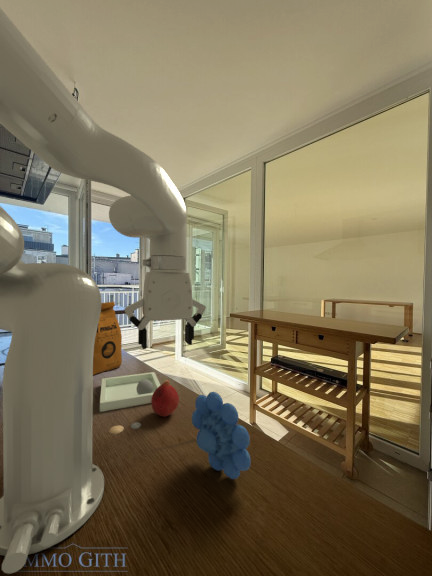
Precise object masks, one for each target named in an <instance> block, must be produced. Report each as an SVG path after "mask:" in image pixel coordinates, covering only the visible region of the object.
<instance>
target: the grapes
mask: <svg viewBox="0 0 432 576" xmlns="http://www.w3.org/2000/svg"><path fill="white" fill-rule="evenodd" d="M194 405H195V406H194V407H195V410H194V411H193V412H192V415H191V423H192V426H193V427H195V428H196V429H197V430H198V432H197V435H196V445H197V447H198V448H199V449H200V450H201V451H203V452H205V453H207V454H208V455H207V457H208V458H207V459H208V463H209V466H210V467H211V468H212V469H213V470H215V471H218V472H219V471H223V474H225V476H227V477H228V478H229V479H231V480H237V479H238V478H239V476H241V471H242V472H245V471H249V469H250V468H251V465H252V464H251V462H252V461H251V460H252V458H251V455H250V453H249V451H248V450H247V448H249V446H250V441H251V438H250V434H249V432H248V429H247V428H246V427H244V426H243V425H241V424H238V422H239V413H238V410H237V408H236V406H234V405H233V404H232V403H229V402H225V403H224V400H223V398H222V396H221V395H220V394H219V393H217V392H216V391H210V392H209V393H208V394H207V395H204V394H200V395H198V396H197V397H196V398H195V404H194Z"/></svg>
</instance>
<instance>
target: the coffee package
mask: <svg viewBox="0 0 432 576" xmlns="http://www.w3.org/2000/svg"><path fill="white" fill-rule="evenodd" d="M115 306H116V304H115V301H107V302H106V301H105V302H101V313H100V318H99V322H98V327H97V331H96V336H95V343H94V353H93V375H97V374H100V373H103V372H108V371H112V370H115V369H117V368H120V367H121V365H122V363H123V361H122V360H123V359H122V356H123V355H122V346H123V345H122V342H123V341H122V338H123V337H122V329H121V327H120V322H119V320H118V319H117V315H116V311H115V309H114V308H115Z"/></svg>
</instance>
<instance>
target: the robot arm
mask: <svg viewBox="0 0 432 576" xmlns="http://www.w3.org/2000/svg"><path fill="white" fill-rule="evenodd" d="M0 125H2V127H4V128H5V129H6V130H7V131H8V132H9V133H11V134H12V135H13V136H14V137H15V138H16V139H17V140H18V141H20V142H21V143H22V144H23V145H25V146H26V148H28V149H29V150H30V151H32V153H33V154H35V155H36V156H37V157H38V158H39V159H41V160H42V161H43V162H44V163H45V164H46V165H47V166H49V167H50V168H51V169H52V170H54V171H56V172H59V173H61V174H63V175H66V176H70V177H74V178H77V179H81V180H85V181H90V182H95V183H100V184H103V185H107V186H111V187H113V188H116V189H118V190H120V191H123V192H125V193H126V194H128V195H126V196H122V197H119V198H118V199H116V200H115V201H113V203H112V204H111V206H110V207H109V211H108V219H109V222H110V224H111V226H112V227H113V229H114V230H115V231H116V232H118V233H119V234H121V235H123V236H124V237H127V238H144V239H149V257H148V258H146V259H142V264H141V265H142V266H143V267H146V268H148V270H149V271H147V272H146V273H145V277H144V278H145V279H144V284H143V292H142V293H143V294H142V298H141V299H139V300H137V301H136V302H133V303H131V304H129V305H127V306H125V307H124V313H125V314H126V316H127V318H128V319H129V321H130V323H132V324H133V325H134V326H135V327H136V329H138V332H137V333H138V336H137V337H138V338H137V339H138V340H137V341H138V342H137V343H138V345H141V348H142V350H146V349H147V348H148V347H147V346H148V342H147V341H148V335H147V334H148V331H147V328H146V326H147V325H148V324H149V323H150V322H154V321H155V322H156V321H157V322H159V321H175V320H176V321H178V320H179V321H180V320H181V321H182V320H184V321H185V322H186V324H185V326H184V343H186V344H187V345H189V346H190V345H191V346H192V345H193V341H194V339H195V327H196V325H197V324H198V322H199V321H200V320H201V319H202V318H203V315H204V313H205V311H206V309H207V307H206V305H204V304H202V303H201V302H198V301H196V300H195V299H193V289H192V280H191V274H190V273H189V272H186V268H187V266H186V262H187V261H186V259H187V258H186V254H187V253H186V252H187V218H188V214H187V213H188V212H187V207H186V204H185V200H184V198H183V196H182V195H181V193H180V191H179V189H178V188H177V186H176V185H175V184H174V182H173V180H171V178H170V176H169V175H168V173H167V172H166V171H165V169H164V168H163V167H162V166H161V165H160V164H159V163H158V162H157V161H156V160H154V158H152V157H151V156H150V155H148V154H146V153H145V152H144V151H142V150H140V149H139V148H137V147H135V146H134V145H132V144H131V143H129V142H127V141H126V140H124V139H122V138H121V137H119V136H117V135H115V134H113V133H111V132H109V131H107V130H105V129H104V128H103V127H101V126H100V125H99V124H97V122H96V121H95V120H94V119H93V117H91V116H90V114H89V113H88V112H87V111H86V110H85V108H84V107H83V106H82V104H80V102H79V101H78V100H77V99H76V97H75V96H74V94H72V93H71V91H70V90H69V89H68V88H67V86H65V84H64V83H63V82H62V81H61V79H60V78H59V77H58V75H57V74H56V73H55V72H54V71H53V70H52V68H51V67H50V65H48V64H47V62H46V61H45V60H44V59H43V57H42V56H41V55H40V53H38V51H37V50H36V49H35V48H34V46H33V45H32V44H31V43H30V42H29V41H28V39H27V38H26V37H25V35H23V33H22V32H21V31H20V29H19V28H18V27H17V26H16V25H15V24H14V22H13V21H12V20H11V19H10V17H9V16H8V15H7V14H6V12H5V11H4V10H3V9H2V8H1V7H0ZM24 250H25V239H24V235H23V232H22V231H21V228H20V227H19V225H18V223H17V222H16V221H15V219H13V217H12V216H11V215H10V214H9V213H8V212H7V211H6V210H5V209H4V208H3V207H2V206H1V205H0V330H2V331H7V332H11V339H10V344H9V347H8V351H7V354H6V356H5V357H6V359H5V362H4V366H3V367H4V368H3V374H2V400H3V401H2V405H3V407H2V418H3V419H2V420H3V422H2V427H3V431H2V433H3V434H2V435H3V436H2V437H3V438H2V439H3V441H2V442H3V454H2V455H3V495H2V497H0V556H4V557H3V560H2V563H1V571H2V572H3V573H4V574H8V575H10V574H13V573H17V572H18V571H19V570H21V569H22V568H23V567H24V565H26V563H27V559H28V557H29V556H28V555H31V554H36V553H39V552H41V551H43V550H46V549H49V548H51V547H53V546H54V545H57V544H59V543H60V542H62V541H64V540H65V539H67V538H68V537H70V536H71V535H72V534H74V533H75V532H77V530H78V529H80V528H81V527H82V526H83V525H84V524H85V523H86V522H87V521H88V520H89V519H90V517H91V516H93V515H94V513H95V511H96V509H97V508H98V506H99V505H100V503H101V501H102V499H103V495H104V492H105V491H104V490H105V477H104V474H103V472H102V469H100V467H99V466H98V465H96V464H94V462H93V423H94V422H93V421H94V420H93V417H94V415H93V414H94V413H93V412H94V411H93V408H94V407H93V406H94V405H93V404H94V396H93V393H94V386H93V385H94V381H93V380H94V376H93V353H94V343H95V336H96V331H97V327H98V322H99V318H100V313H101V303H102V295H101V291H100V288H99V286H98V284H97V282H96V281H95V280H94V279H93V277H92V276H91V275H89V274H88V273H87V272H86V271H84V270H82V269H81V268H78V267H77V266H73V265H70V264H67V263H58V262H57V263H56V262H35V263H34V262H29V263H25V262H24V261H22V257H23V254H24ZM141 307H142V316H141V318H140V319H138V318H137V316H136V315H135V314H134V311H136V310H138V309H141ZM194 307H195V309H197V310H196V312H195V313H194V311H193V310H194ZM193 313H194V314H193Z"/></svg>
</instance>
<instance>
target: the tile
mask: <svg viewBox="0 0 432 576" xmlns="http://www.w3.org/2000/svg"><path fill="white" fill-rule="evenodd" d="M141 427H142V423H141V422H134V423H131V425H130V428H131V429H135V430H136V429H140V428H141ZM124 429H125V428H124V426H123V425H120V424H119V425H114V426H112V427H110V429H109V430H108V432H109V433H110V434H112V435H117V434H120V433H121V432H123V431H124Z"/></svg>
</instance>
